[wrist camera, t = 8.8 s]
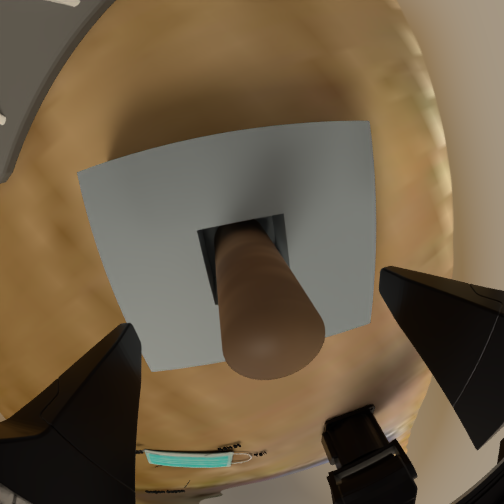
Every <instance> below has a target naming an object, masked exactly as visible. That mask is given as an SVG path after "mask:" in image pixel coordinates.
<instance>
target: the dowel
mask: <svg viewBox="0 0 504 504" xmlns="http://www.w3.org/2000/svg"><path fill="white" fill-rule="evenodd" d="M214 249H215V265H216V280H217V294H218V307H219V319H220V330H221V341H222V351H223V356H224V358H225V361H226V362H227V364H228V365H229V366H230V367H231V368H232V369H233V370H234V371H235V372H237V373H238V374H240V375H242V376H245V377H248V378H251V379H257V380H272V379H278V378H282V377H286V376H288V375H291V374H293V373H295V372H297V371H299V370H301V369H302V368H304V367H305V366H306V365H308V364H309V363H310V362H311V361H312V360H313V359H314V358H315V357H316V355H317V354H318V353H319V351H320V349H321V348H322V345H323V343H324V339H325V325H324V322H323V320H322V318H321V316H320V314H319V313H318V311H317V310H316V308H315V307H314V305H313V304H312V302H311V300H310V299H309V297H308V296H307V294H306V293H305V291H304V289H303V288H302V286H301V285H300V283H299V282H298V280H297V279H296V277H295V276H294V274H293V273H292V271H291V269H290V268H289V266H288V265H287V263H286V262H285V260H284V259H283V257H282V256H281V254H280V253H279V251H278V250H277V248H276V247H275V245H274V244H273V242H272V241H271V239H270V238H269V236H268V235H267V233H266V232H265V230H264V229H263V227H262V226H261V224H260V223H259V222H258V221H256V220H255V219H251V220H246V221H240V222H235V223H230V224H225V225H220V226H219V227H218V229H217V231H216V233H215V237H214Z"/></svg>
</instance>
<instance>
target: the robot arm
mask: <svg viewBox="0 0 504 504" xmlns="http://www.w3.org/2000/svg"><path fill="white" fill-rule="evenodd" d="M379 292H380V294H381V296H382V298H383V299H384V301H385V303H386V304H387V306H388V308H389V309H390V311H391V313H392V315H393V316H394V318H395V320H396V321H397V323H398V325H399V326H400V327H401V329H402V330H403V332H404V333H405V334H406V336H407V337H408V339H409V340H410V342H411V343H412V344H413V346H414V347H415V349H416V350H417V352H418V353H419V355H420V356H421V358H422V359H423V361H424V362H425V364H426V365H427V367H428V368H429V370H430V371H431V373H432V374H433V376H434V377H435V379H436V380H437V382H438V384H439V385H440V387H441V388H442V390H443V392H444V393H445V395H446V396H447V398H448V400H449V401H450V403H451V405H452V406H453V408H454V410H455V412H456V414H457V415H458V417H459V419H460V421H461V422H462V424H463V426H464V428H465V429H466V431H467V433H468V435H469V437H470V439H471V441H472V443H473V445H474V446H475V448H476V449H477V450H479V449H480V448H481V447H482V446H483V445H484V444H485V443H487V442H488V441H489V440H490V439H491V438H492V437H493V436H494V435H495V434H496V433H497V432H498V431H499V430H500V429H501V428H502V427H503V426H504V291H502V290H496V289H491V288H486V287H482V286H477V285H473V284H468V283H465V282H460V281H456V280H452V279H447V278H443V277H439V276H434V275H430V274H426V273H421V272H417V271H412V270H408V269H403V268H399V267H394V266H388V267H384V268H382V269H381V271H380V281H379ZM141 353H142V346H141V341H140V339H139V337H138V335H137V333H136V331H135V328H134V326H133V325H132V324H131V323H123V324H120V325H118V326H117V327H116V328H115V329H114V330H112V331H111V332H110V333H109V334H108V335H107V336H105V337H104V338H103V339H102V340H101V341H100V342H98V343H97V344H96V345H95V346H94V347H93V348H91V349H90V350H89V351H88V352H87V353H86V354H85V355H83V356H82V357H81V358H80V359H79V360H78V361H77V362H75V363H74V364H73V365H72V366H71V367H70V368H69V369H67V370H66V371H65V372H64V373H63V374H62V375H61V376H60V377H59V378H58V379H56V380H55V381H54V382H53V383H52V384H51V385H49V386H48V387H47V388H46V389H45V390H44V391H43V392H41V393H40V394H39V395H38V396H36V397H35V398H34V399H33V400H32V401H30V402H29V403H28V404H26V405H25V406H24V407H23V408H21V409H20V410H19V411H18V412H16V413H15V414H14V415H13V416H11V417H10V418H8V419H7V420H5V421H2V422H0V504H135V492H134V491H135V456H136V435H137V421H138V409H139V399H140V389H141ZM374 409H375V406H374V405H373V404H372V405H369V406H367V407H364V408H362V409H359V410H356V411H354V412H351V413H349V414H346V415H343V416H340V417H337V418H334V419H331V420H329V421H327V422H326V423H325V428H324V432H323V434H322V441H321V442H322V444H323V447H324V450H325V452H326V455H327V457H328V460H329V462H330V464H331V465H334V464H335V465H336V467H337V470H335V471H331V472H329V476H328V477H327V480H328V482H329V485H330V489H331V494H332V500H333V504H415V500H416V495H417V486H416V484H415V482H414V479H415V478H417V473H416V471H415V469H414V467H413V465H412V463H411V461H410V460H409V458H408V457H407V455H406V454H405V452H404V450H403V449H402V447H401V446H400V444H399V443H398V441H397V440H396V439H394V440H392V442H390V443H389V442H388V440H387V438H386V436H385V435H384V433H383V431H382V429H381V427H380V426H379V424H378V422H377V420H376V419H375V417H374V415H373V412H374ZM393 454H396V456H394V455H393ZM451 504H504V438H503V439H502V440H501V441H500V449H499V455H498V462H497V465H496V466H495V467H494V468H493V469H492V470H491V471H490V472H489V473H487V475H485V476H484V477H483V478H482V479H481V480H480V481H478V482H477V483H476V484H475V485H474V486H473V487H472V488H470V489H469V490H468V491H466V492H465V493H464V494H463V495H461V496H460V497H459V498H457V499H456V500H455V501H454V502H452V503H451Z"/></svg>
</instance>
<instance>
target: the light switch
mask: <svg viewBox="0 0 504 504" xmlns="http://www.w3.org/2000/svg"><path fill="white" fill-rule="evenodd" d="M114 1H115V0H0V184H1V183H4V182H6V181H7V180H8V178H9V177H10V175H11V174H12V172H13V170H14V167H15V164H16V161H17V158H18V156H19V153H20V150H21V148H22V145H23V143H24V140H25V138H26V136H27V133H28V131H29V129H30V126H31V124H32V122H33V120H34V118H35V116H36V114H37V112H38V110H39V108H40V106H41V104H42V102H43V100H44V98H45V96H46V94H47V93H48V91H49V89H50V87H51V85H52V84H53V82H54V80H55V79H56V77H57V75H58V74H59V72H60V71H61V69H62V67H63V66H64V64H65V63H66V61H67V60H68V58H69V57H70V55H71V54H72V53H73V51H74V50H75V48H76V47H77V46H78V44H79V43H80V42H81V40H82V39H83V38H84V36H85V35H86V34H87V32H88V31H89V30H90V29H91V27H92V26H93V25H94V24H95V23H96V21H97V20H98V19H99V18H100V17H101V16H102V14H103V13H104V12H105V11H106V10H107V9H108V8H109V7H110V6H111V5H112V4H113V3H114Z"/></svg>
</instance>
